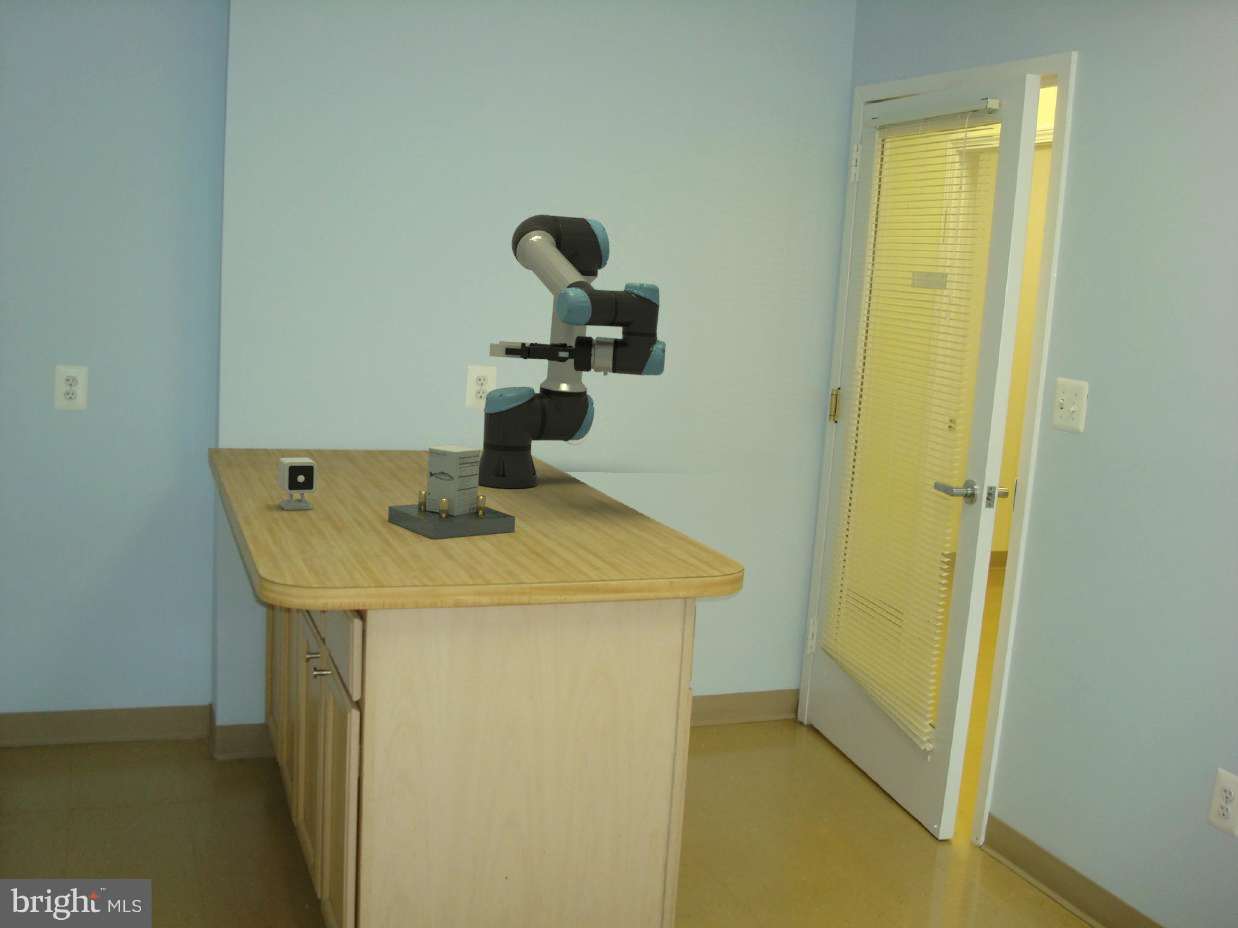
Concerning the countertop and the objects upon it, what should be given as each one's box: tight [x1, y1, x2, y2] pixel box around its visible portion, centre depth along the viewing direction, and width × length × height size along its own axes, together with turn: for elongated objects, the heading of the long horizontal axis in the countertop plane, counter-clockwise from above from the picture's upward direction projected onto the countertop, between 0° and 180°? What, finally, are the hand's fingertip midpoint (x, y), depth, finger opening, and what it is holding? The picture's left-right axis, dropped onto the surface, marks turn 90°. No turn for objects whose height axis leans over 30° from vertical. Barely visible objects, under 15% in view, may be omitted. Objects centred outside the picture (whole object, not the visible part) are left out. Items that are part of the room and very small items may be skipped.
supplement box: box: [426, 444, 481, 516], centre depth 226 cm, size 7×7×13 cm
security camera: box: [278, 457, 318, 511], centre depth 236 cm, size 6×7×10 cm
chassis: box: [387, 490, 516, 540], centre depth 227 cm, size 18×18×6 cm
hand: (494, 348), depth 248 cm, fingers open, 13 cm apart
